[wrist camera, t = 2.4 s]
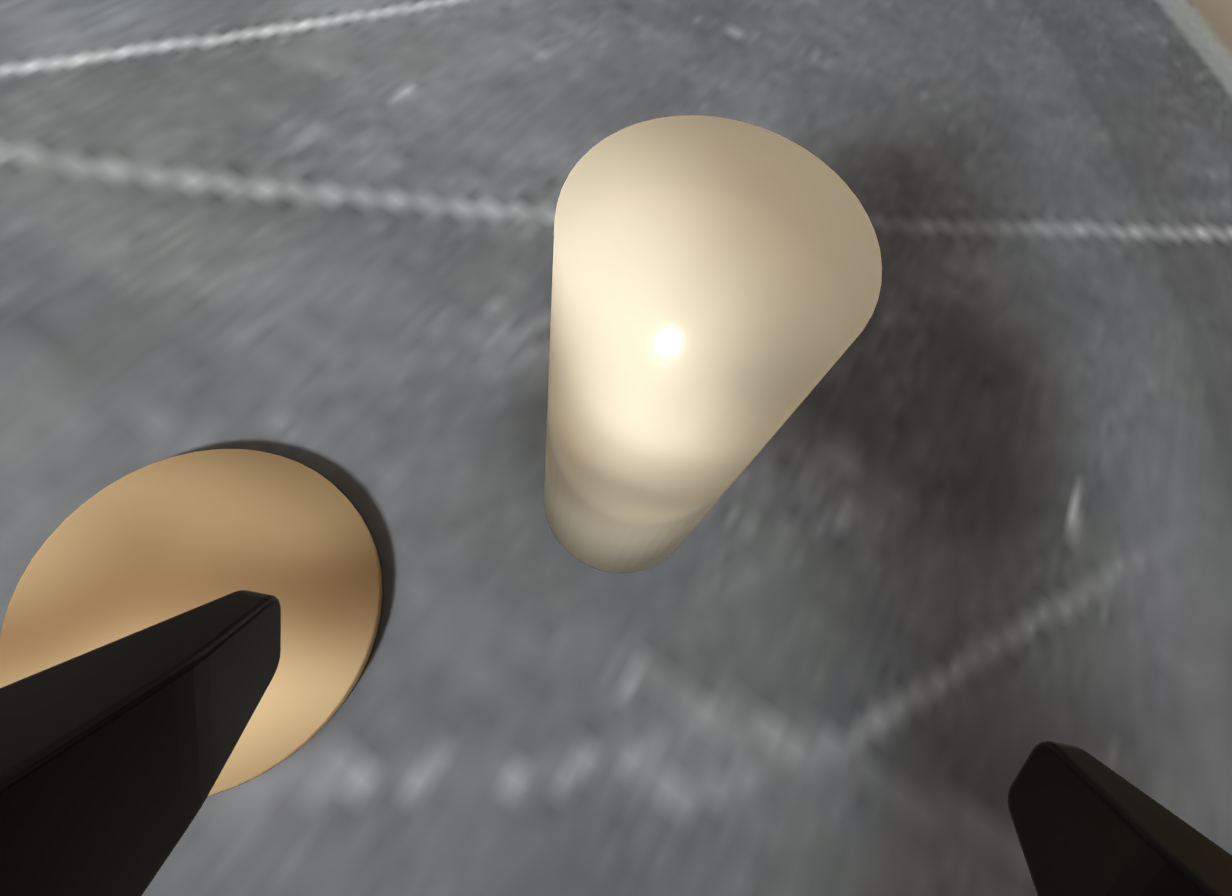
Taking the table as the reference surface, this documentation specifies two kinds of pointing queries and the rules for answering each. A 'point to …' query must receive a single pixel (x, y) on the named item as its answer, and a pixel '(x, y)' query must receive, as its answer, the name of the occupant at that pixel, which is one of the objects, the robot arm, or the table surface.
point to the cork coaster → (212, 582)
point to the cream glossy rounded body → (689, 323)
